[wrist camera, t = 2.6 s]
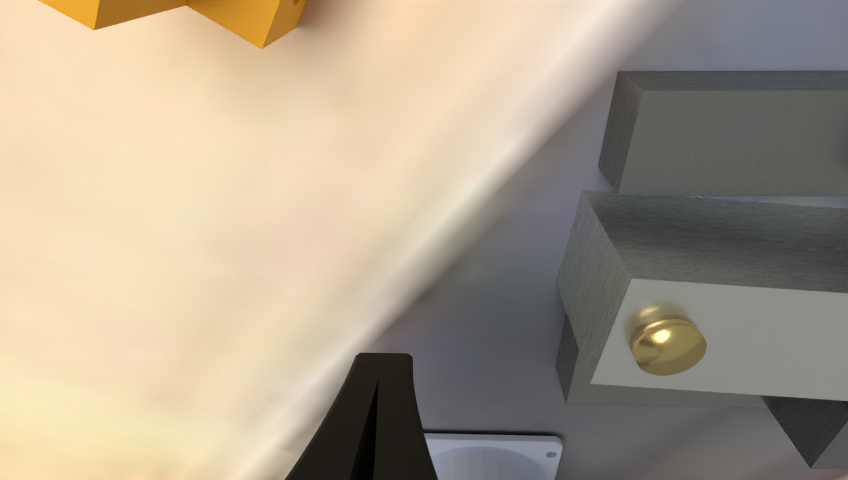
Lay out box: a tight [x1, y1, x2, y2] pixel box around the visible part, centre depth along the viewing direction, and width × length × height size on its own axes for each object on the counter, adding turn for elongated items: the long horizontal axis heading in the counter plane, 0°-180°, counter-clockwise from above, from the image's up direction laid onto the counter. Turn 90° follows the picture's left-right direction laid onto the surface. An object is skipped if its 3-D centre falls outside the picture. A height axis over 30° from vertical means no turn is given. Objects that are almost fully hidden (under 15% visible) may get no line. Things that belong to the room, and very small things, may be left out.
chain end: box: [556, 71, 848, 469], centre depth 15 cm, size 12×12×5 cm
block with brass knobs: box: [556, 190, 848, 401], centre depth 15 cm, size 4×10×6 cm, turn 86°
